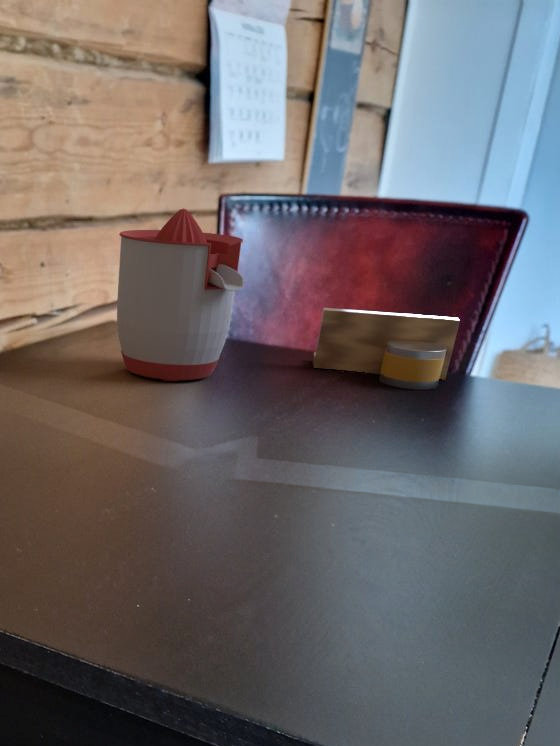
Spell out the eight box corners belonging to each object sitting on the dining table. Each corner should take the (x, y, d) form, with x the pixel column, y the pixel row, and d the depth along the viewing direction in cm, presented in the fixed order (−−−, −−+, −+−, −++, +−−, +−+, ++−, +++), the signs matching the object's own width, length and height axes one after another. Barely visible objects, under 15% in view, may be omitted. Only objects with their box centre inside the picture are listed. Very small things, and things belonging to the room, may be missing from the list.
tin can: (435, 379, 119) (444, 342, 117) (439, 392, 113) (449, 353, 110) (378, 374, 121) (385, 337, 118) (379, 386, 115) (387, 347, 112)
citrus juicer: (183, 396, 106) (202, 216, 95) (87, 368, 116) (94, 203, 106) (260, 379, 115) (284, 214, 105) (164, 355, 126) (178, 203, 116)
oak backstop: (438, 371, 125) (452, 313, 120) (444, 380, 119) (460, 320, 115) (312, 360, 127) (322, 303, 123) (313, 369, 122) (324, 309, 118)
